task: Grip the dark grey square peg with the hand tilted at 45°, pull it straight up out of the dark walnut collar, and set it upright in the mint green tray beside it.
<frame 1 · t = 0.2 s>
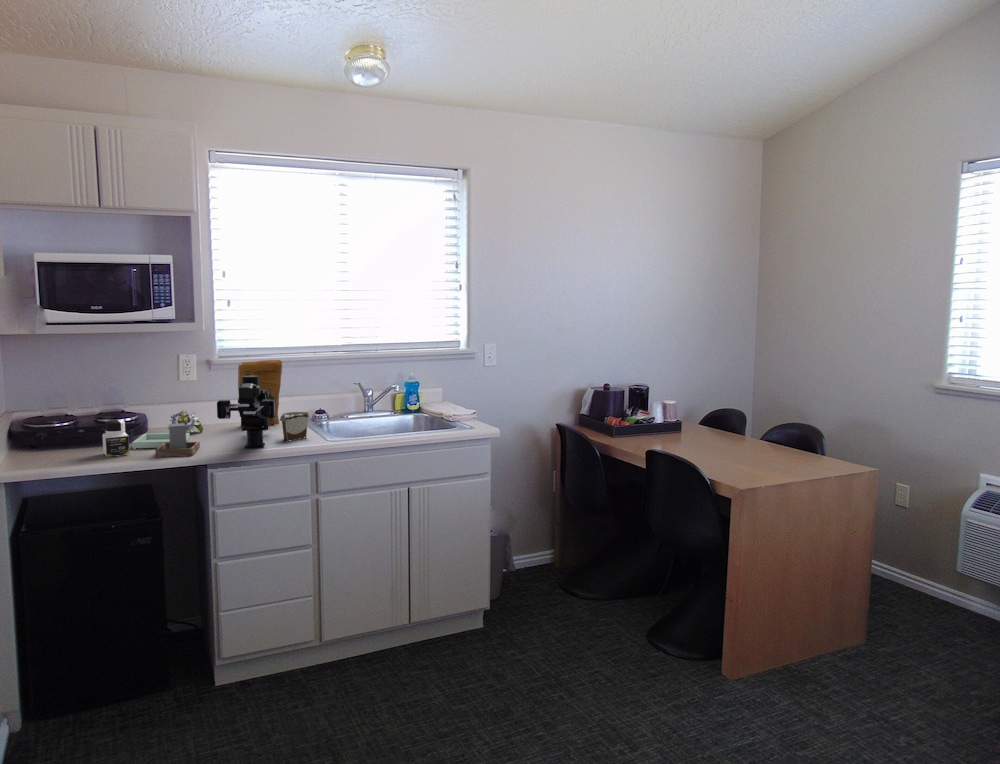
hand: (241, 413, 244), 17 cm above the counter, tool horizontal, fingers open, 9 cm apart
grey peg: (177, 438, 258), in the walnut collar
passion flower: (185, 434, 292), on the counter
walnut collar: (178, 452, 258), on the counter
medicine bottle: (116, 455, 254), on the counter
pancake mix bag: (261, 426, 311), on the counter
food container: (291, 439, 285), on the counter
mint green tray: (162, 444, 272), on the counter
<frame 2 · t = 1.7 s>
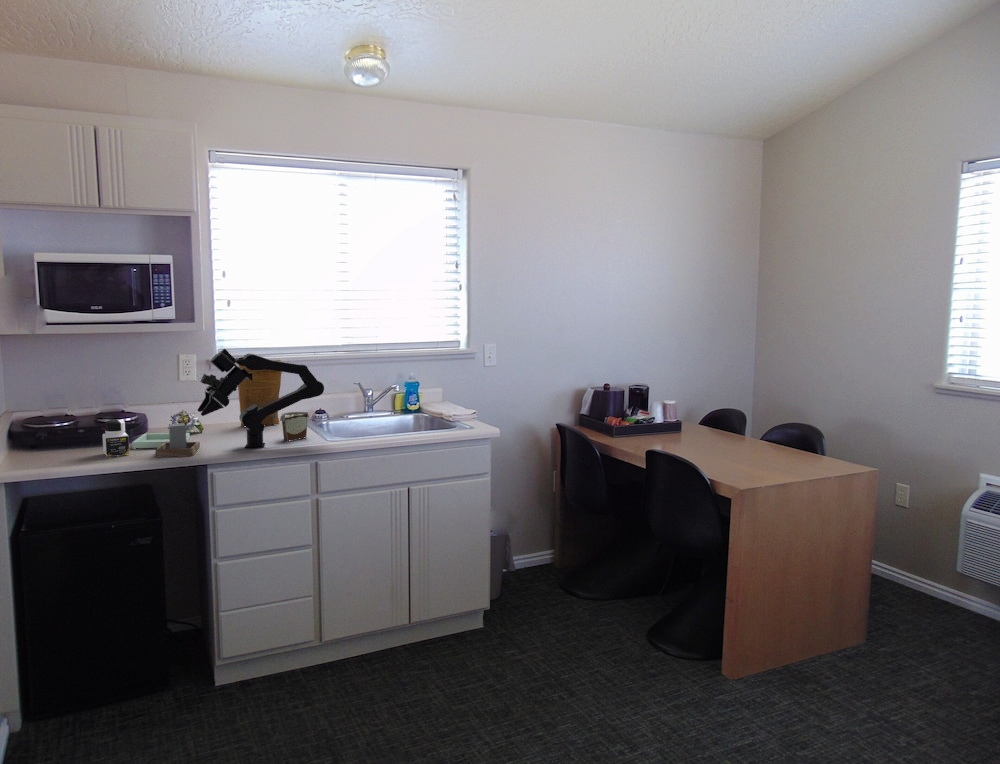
hand: (199, 413, 260), 14 cm above the counter, tool tilted 45°, fingers open, 9 cm apart
nothing on the counter moved.
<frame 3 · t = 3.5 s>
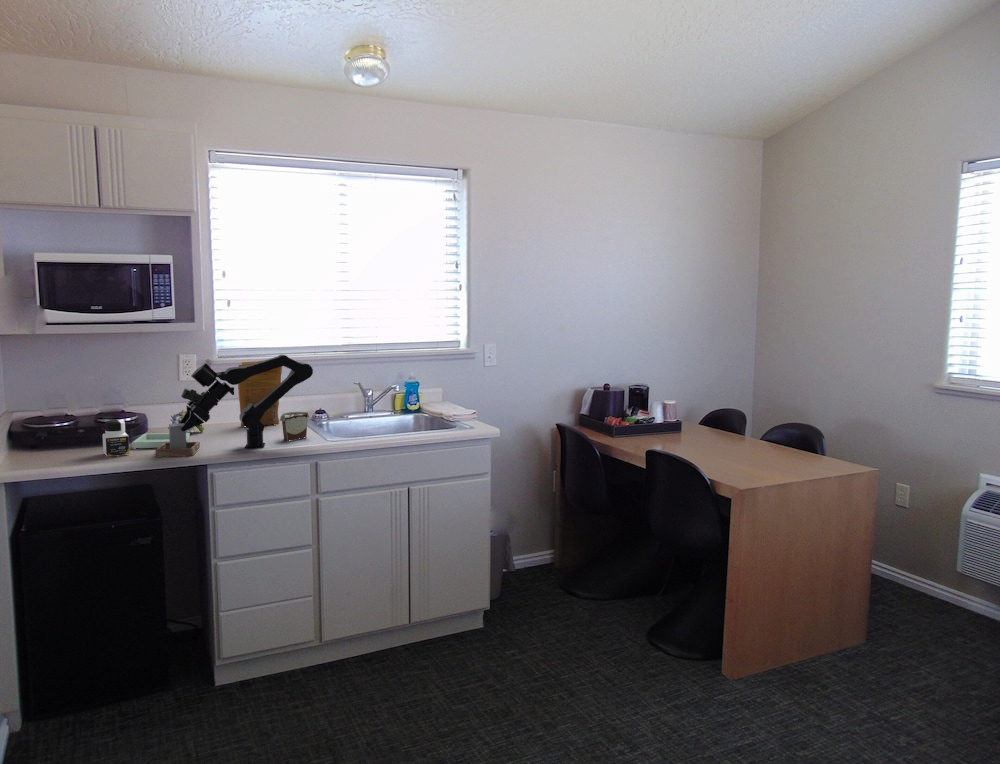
hand: (180, 428, 258), 9 cm above the counter, tool tilted 45°, fingers open, 9 cm apart
nothing on the counter moved.
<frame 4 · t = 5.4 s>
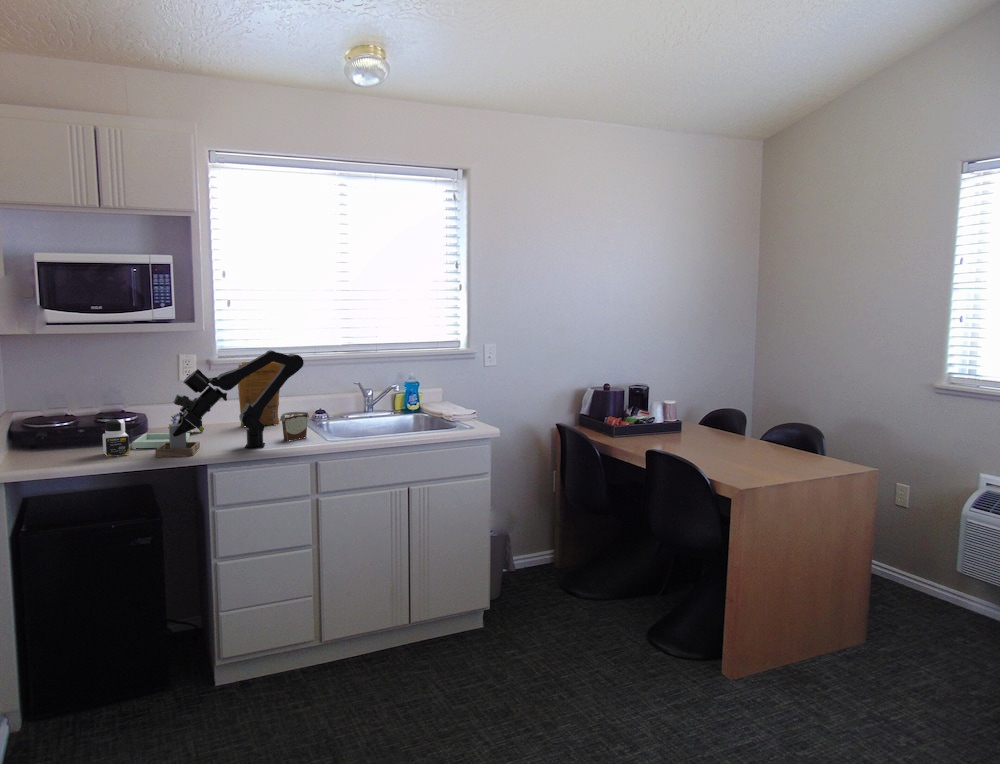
hand: (173, 434, 257), 7 cm above the counter, tool tilted 45°, fingers closed on grey peg, 5 cm apart
grey peg: (177, 438, 258), in the walnut collar, touching gripper
everything else where it was.
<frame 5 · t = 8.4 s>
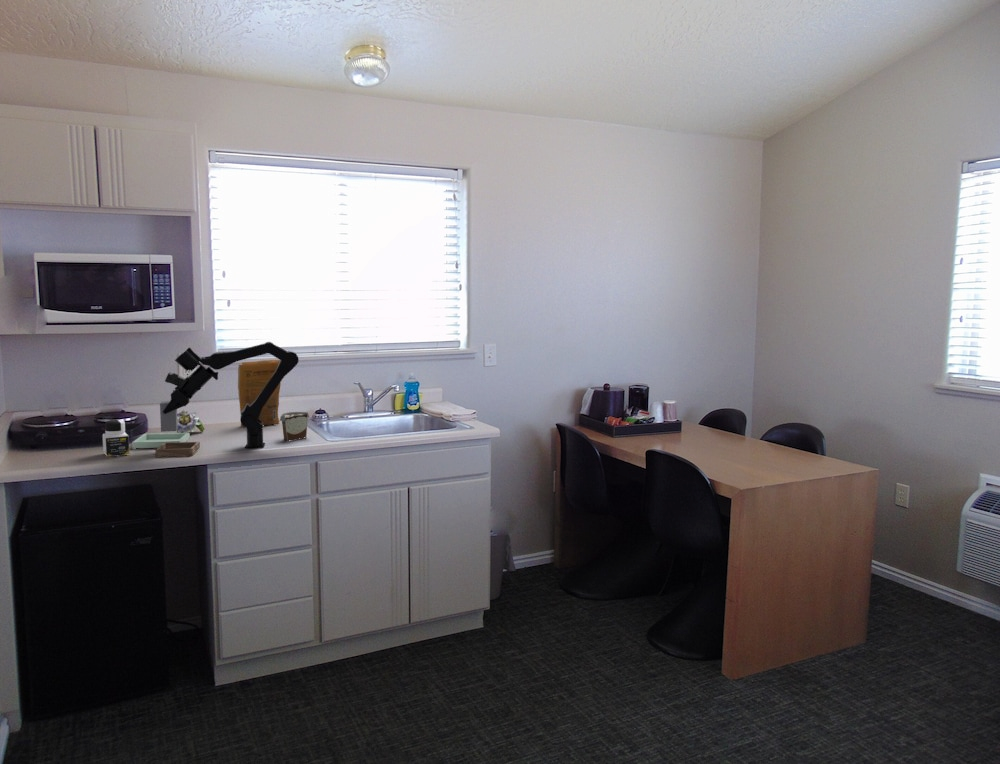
hand: (164, 411, 259), 14 cm above the counter, tool tilted 45°, fingers closed on grey peg, 5 cm apart
grey peg: (168, 416, 259), point 12 cm above the counter, touching gripper
everything else where it was.
when the fingers open (8 cm above the counter, at t = 11.4 s): grey peg drops 1 cm, resting on mint green tray.
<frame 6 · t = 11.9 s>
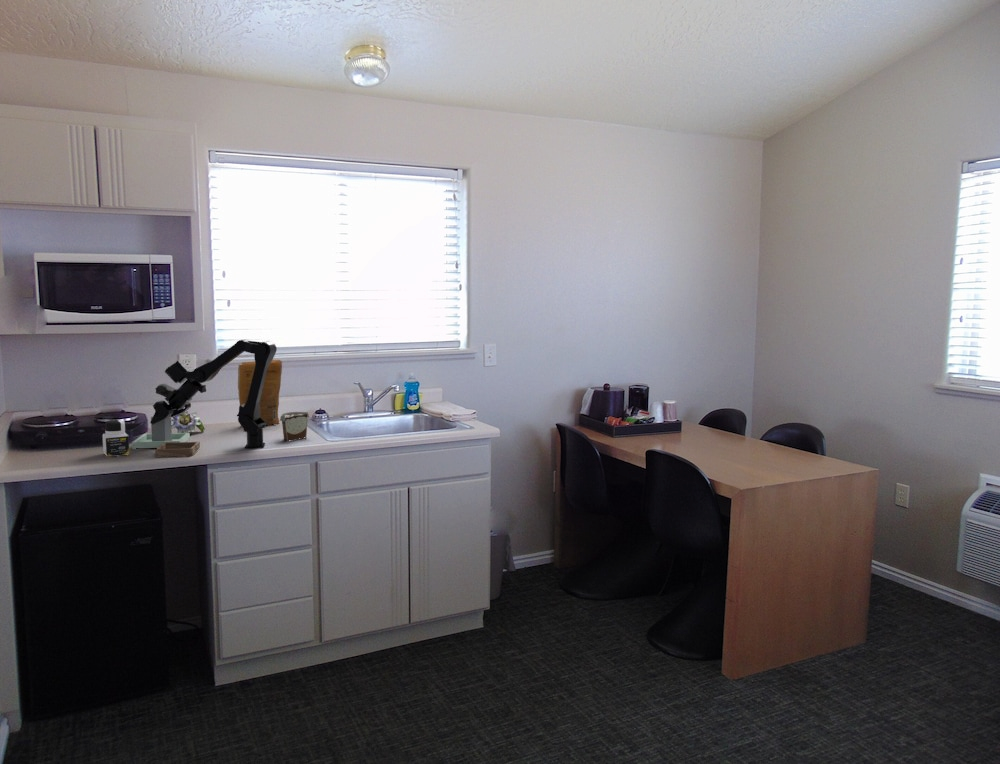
hand: (157, 421, 270), 9 cm above the counter, tool tilted 45°, fingers open, 9 cm apart
grey peg: (161, 429, 271), in the mint green tray, point 6 cm above the counter
everything else where it was.
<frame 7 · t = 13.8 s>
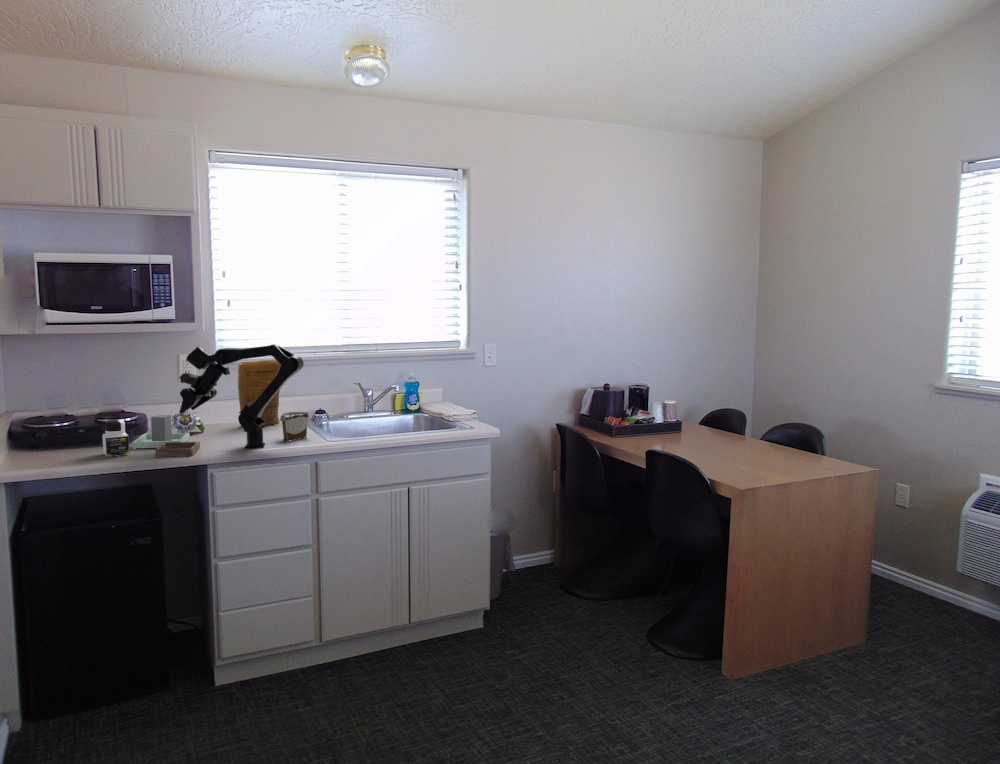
hand: (186, 411, 269), 13 cm above the counter, tool tilted 35°, fingers open, 9 cm apart
nothing on the counter moved.
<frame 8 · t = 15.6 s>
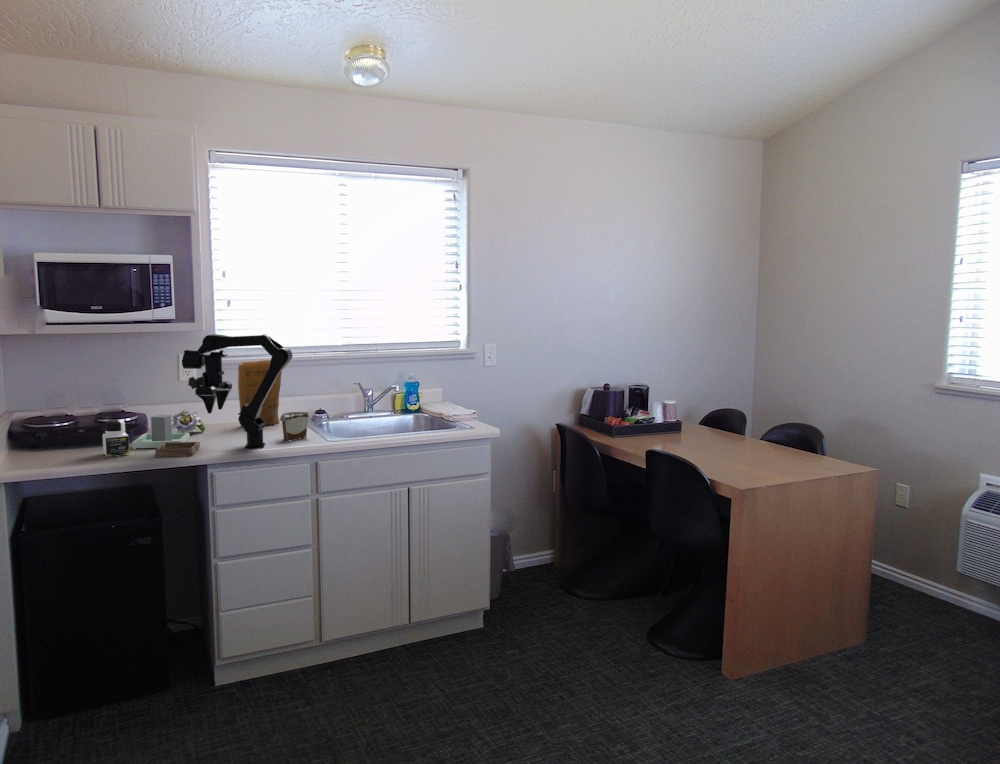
hand: (214, 411, 268), 13 cm above the counter, tool pointing down, fingers open, 9 cm apart
nothing on the counter moved.
at the end: grey peg inside the target area on the mint green tray (0.0 cm from its centre), point 5.6 cm above the mint green tray's base; grey peg tilted 0°; the gripper is holding nothing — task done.
